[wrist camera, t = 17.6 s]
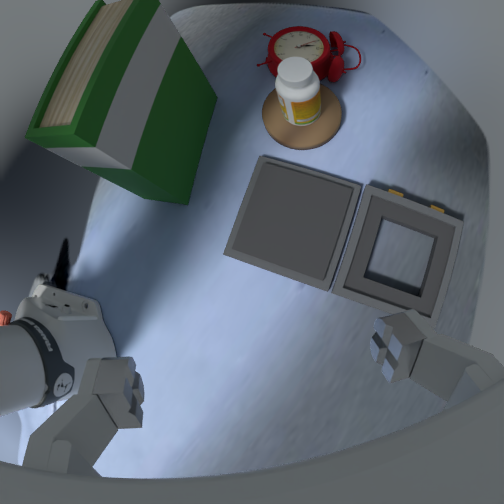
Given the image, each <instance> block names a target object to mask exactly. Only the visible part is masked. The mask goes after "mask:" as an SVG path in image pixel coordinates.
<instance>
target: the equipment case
mask: <svg viewBox="0 0 504 504" xmlns="http://www.w3.org/2000/svg"><path fill="white" fill-rule="evenodd" d="M360 189H361V186H360V185H357V184H354V183H351V182H348V181H345V180H342V179H339V178H335V177H332V176H329V175H326V174H323V173H319V172H316V171H313V170H309V169H306V168H302V167H299V166H296V165H292V164H288V163H285V162H281V161H278V160H274V159H270V158H266V157H263V156H259V158H258V161H257V164H256V166H255V169H254V172H253V174H252V177H251V180H250V182H249V185H248V188H247V190H246V193H245V196H244V198H243V201H242V204H241V206H240V209H239V212H238V215H237V217H236V220H235V223H234V225H233V228H232V231H231V234H230V236H229V239H228V242H227V245H226V248H225V250H224V253H223V255H226V256H229V257H232V258H235V259H237V260H240V261H243V262H246V263H248V264H251V265H254V266H257V267H260V268H262V269H265V270H268V271H271V272H274V273H276V274H279V275H282V276H285V277H288V278H290V279H293V280H296V281H299V282H302V283H305V284H307V285H310V286H313V287H316V288H319V289H322V290H325V291H327V292H328V289H329V286H330V284H331V281H332V278H333V275H334V272H335V269H336V266H337V263H338V260H339V257H340V254H341V251H342V248H343V245H344V242H345V239H346V236H347V232H348V229H349V226H350V223H351V220H352V216H353V213H354V210H355V206H356V203H357V200H358V196H359V193H360ZM381 218H382V219H385V220H387V221H390V222H393V223H396V224H398V225H401V226H404V227H406V228H409V229H412V230H414V231H417V232H420V233H422V234H425V235H427V236H430V237H432V238H434V242H433V246H432V250H431V254H430V257H429V261H428V265H427V268H426V272H425V275H424V279H423V282H422V285H421V288H420V292H419V295H418V297H417V296H414V295H412V294H409V293H406V292H403V291H400V290H398V289H395V288H392V287H389V286H386V285H383V284H381V283H378V282H375V281H372V280H369V279H366V278H364V277H363V276H364V273H365V270H366V267H367V264H368V261H369V258H370V254H371V251H372V248H373V245H374V241H375V238H376V235H377V231H378V228H379V224H380V221H381ZM463 223H464V222H463V221H461V220H458V219H456V218H454V217H451V216H449V215H447V214H444V210H443V209H441V208H438V207H436V206H433V205H430V206H429V207H427V206H424V205H422V204H419V203H416V202H414V201H411V200H409V199H406V198H403V194H402V193H399V192H397V191H394V190H391V189H389V190H388V191H384V190H381V189H378V188H375V187H373V186H370V185H367V184H366V186H365V189H364V192H363V195H362V199H361V202H360V206H359V209H358V212H357V216H356V219H355V222H354V226H353V229H352V232H351V235H350V238H349V242H348V245H347V248H346V251H345V254H344V257H343V260H342V263H341V266H340V269H339V272H338V275H337V278H336V281H335V284H334V286H333V289H332V292H331V293H333V294H336V295H339V296H342V297H344V298H347V299H350V300H353V301H356V302H359V303H362V304H365V305H367V306H370V307H373V308H376V309H379V310H382V311H385V312H388V313H391V314H396V313H401V312H403V311H407V310H411V309H414V310H416V311H417V312H418V313H419V314H420V315H421V316H422V317H423V319H424V320H425V321H426V322H427V323H428V324H429V325H430V326H431V327H432V328H435V326H436V323H437V320H438V317H439V314H440V311H441V308H442V305H443V302H444V298H445V295H446V292H447V288H448V285H449V281H450V278H451V274H452V270H453V267H454V263H455V259H456V255H457V250H458V246H459V242H460V237H461V233H462V228H463Z"/></svg>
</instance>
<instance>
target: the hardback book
mask: <svg viewBox="0 0 504 504" xmlns="http://www.w3.org/2000/svg"><path fill="white" fill-rule="evenodd" d="M216 101H217V96H216V94H215V92H214V90H213V89H212V87H211V85H210V84H209V82H208V80H207V78H206V77H205V75H204V73H203V72H202V70H201V68H200V67H199V65H198V63H197V62H196V60H195V58H194V57H193V55H192V53H191V52H190V50H189V48H188V47H187V45H186V43H185V42H184V40H183V38H182V37H181V35H180V34H179V32H178V30H177V29H176V27H175V25H174V24H173V22H172V21H171V19H170V17H169V16H168V14H167V13H166V11H165V10H164V8H163V7H162V5H161V3H160V2H159V0H121V1H118V2H115V3H111V4H108V5H106V4H105V3H104V1H103V0H98V1H95V3H94V4H93V6H92V7H91V9H90V10H89V12H88V13H87V15H86V16H85V18H84V19H83V21H82V22H81V24H80V26H79V27H78V29H77V31H76V32H75V34H74V35H73V37H72V39H71V41H70V42H69V44H68V46H67V47H66V49H65V51H64V53H63V55H62V57H61V58H60V60H59V62H58V64H57V66H56V68H55V70H54V72H53V74H52V76H51V78H50V80H49V82H48V84H47V86H46V88H45V90H44V93H43V94H42V97H41V99H40V101H39V103H38V106H37V108H36V110H35V113H34V115H33V117H32V120H31V122H30V125H29V128H28V130H27V133H26V135H25V138H26V139H28V140H30V141H32V142H34V143H36V144H38V145H40V146H42V147H44V148H46V149H48V150H50V151H52V152H54V153H56V154H58V155H60V156H62V157H63V158H65V159H67V160H69V161H71V162H73V163H75V164H77V165H79V166H81V167H83V168H85V169H87V170H89V171H91V172H93V173H95V174H97V175H99V176H101V177H103V178H105V179H107V180H108V181H110V182H112V183H114V184H116V185H118V186H120V187H122V188H124V189H126V190H128V191H130V192H132V193H134V194H136V195H138V196H140V197H142V198H144V199H149V200H157V201H164V202H171V203H178V204H184V205H188V203H189V199H190V195H191V191H192V187H193V183H194V179H195V175H196V171H197V167H198V164H199V160H200V156H201V152H202V149H203V145H204V142H205V138H206V134H207V131H208V127H209V124H210V121H211V117H212V114H213V110H214V107H215V104H216Z"/></svg>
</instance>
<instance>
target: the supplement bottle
mask: <svg viewBox="0 0 504 504" xmlns="http://www.w3.org/2000/svg"><path fill="white" fill-rule="evenodd" d="M275 87H276V91H277V95H278V99H279V102H280V106H281V110H282V113H283V116H284V118H285V119H286V120H287V121H288V122H289V123H291V124H293V125H297V126H306V125H310V124H312V123H313V122H315V121H316V120H317V119H318V118H319V116H320V113H321V97H320V81H319V78H318V76H317V74H316V73H315V72H314V71H313V67H312V65H311V63H310V62H309V61H308V60H307V59H305V58H302V57H289V58H286V59H284V60H283V61H282V62H281V63H280V64H279V66H278V75H277V77H276V80H275Z"/></svg>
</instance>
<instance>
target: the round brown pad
mask: <svg viewBox="0 0 504 504" xmlns="http://www.w3.org/2000/svg"><path fill="white" fill-rule="evenodd" d="M320 97H321V113H320V116H319V118H318V119H317V120H316V121H315V122H313V123H312V124H310V125H306V126H297V125H293V124H291V123H289V122H288V121H287V120H286V119H285V118H284V116H283V113H282V110H281V106H280V102H279V99H278V95H277V91H276V88H275V89H274V90H273V91H272V92H271V93H270V94H269V95H268V96H267V98H266V100H265V102H264V104H263V108H262V117H263V121H264V124H265V127H266V129H267V131H268V133H269V134H270V136H271V137H272V138H273V139H274V140H275V141H276V142H278V143H279V144H281V145H283V146H285V147H288V148H291V149H296V150H309V149H314V148H317V147H320V146H322V145H324V144H326V143H327V142H329V141H330V140H331V139H332V138H333V137H334V136H335V135H336V133H337V131H338V130H339V127H340V123H341V113H342V112H341V106H340V103H339V100H338V98H337V97H336V95H335V94H334V93H333V92H332V91H331V90H330V89H329V88H327V87H326V86H324V85H322V84H320Z"/></svg>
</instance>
